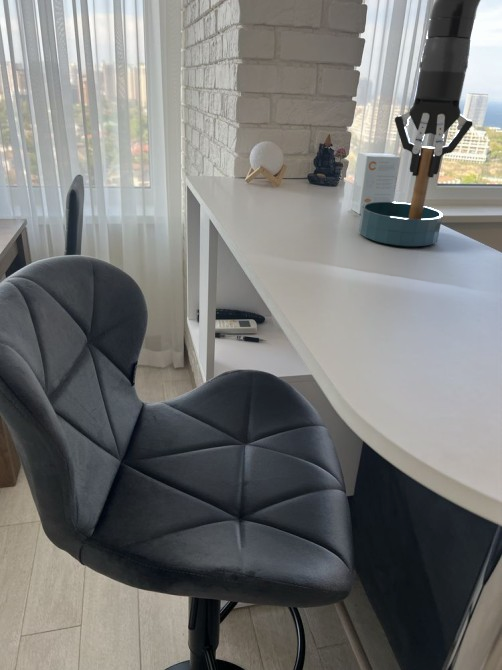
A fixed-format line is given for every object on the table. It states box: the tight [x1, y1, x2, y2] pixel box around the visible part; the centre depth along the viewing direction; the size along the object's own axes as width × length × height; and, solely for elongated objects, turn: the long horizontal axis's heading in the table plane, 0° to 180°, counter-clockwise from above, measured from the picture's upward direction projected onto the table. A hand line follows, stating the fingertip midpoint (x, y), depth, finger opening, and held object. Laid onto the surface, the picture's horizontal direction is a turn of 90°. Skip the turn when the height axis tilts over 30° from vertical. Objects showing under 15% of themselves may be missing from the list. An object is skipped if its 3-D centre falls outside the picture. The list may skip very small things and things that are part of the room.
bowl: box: [358, 201, 444, 248], centre depth 99 cm, size 15×15×6 cm
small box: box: [350, 152, 401, 215], centre depth 117 cm, size 8×6×13 cm
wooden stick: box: [408, 146, 435, 219], centre depth 94 cm, size 2×2×15 cm
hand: (422, 175), depth 93 cm, fingers closed on wooden stick, 2 cm apart
